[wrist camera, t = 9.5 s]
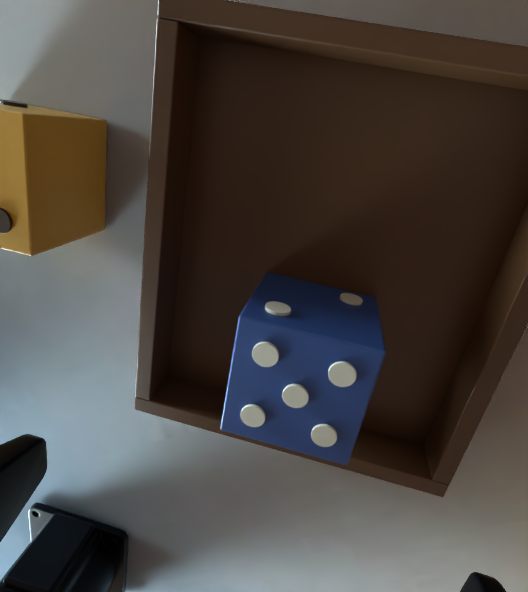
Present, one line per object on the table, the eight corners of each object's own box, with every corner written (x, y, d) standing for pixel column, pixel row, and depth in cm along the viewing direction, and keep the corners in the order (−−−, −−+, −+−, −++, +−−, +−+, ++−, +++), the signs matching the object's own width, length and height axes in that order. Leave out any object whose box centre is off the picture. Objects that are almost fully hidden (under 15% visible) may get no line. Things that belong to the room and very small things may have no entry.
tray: (431, 452, 18) (443, 498, 16) (159, 377, 20) (133, 409, 18) (595, 79, 13) (653, 65, 10) (190, 14, 14) (157, -11, 12)
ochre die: (105, 229, 18) (29, 257, 13) (14, 208, 18) (-87, 229, 14) (107, 116, 16) (20, 108, 12) (6, 97, 16) (-112, 81, 12)
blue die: (348, 390, 18) (347, 469, 13) (248, 364, 18) (218, 432, 14) (377, 293, 16) (388, 350, 12) (266, 268, 16) (237, 313, 12)
